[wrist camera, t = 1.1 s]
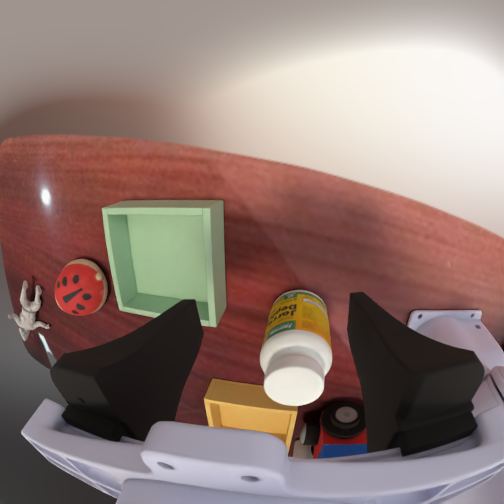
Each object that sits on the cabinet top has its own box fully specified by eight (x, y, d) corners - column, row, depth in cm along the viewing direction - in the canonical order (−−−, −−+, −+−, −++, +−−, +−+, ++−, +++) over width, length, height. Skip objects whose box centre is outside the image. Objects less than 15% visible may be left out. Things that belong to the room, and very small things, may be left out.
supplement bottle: (301, 344, 26) (295, 421, 18) (258, 315, 26) (236, 388, 17) (339, 310, 24) (351, 385, 16) (296, 276, 24) (289, 345, 15)
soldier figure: (58, 298, 33) (44, 355, 34) (57, 281, 36) (42, 336, 37) (13, 283, 27) (4, 345, 28) (16, 267, 31) (5, 326, 31)
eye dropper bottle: (289, 452, 34) (280, 517, 23) (296, 435, 32) (287, 508, 21) (317, 455, 34) (312, 519, 22) (327, 438, 32) (323, 510, 20)
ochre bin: (299, 388, 29) (297, 411, 25) (290, 433, 32) (288, 453, 29) (212, 377, 30) (203, 398, 27) (218, 424, 34) (212, 442, 31)
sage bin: (223, 200, 23) (210, 208, 20) (226, 307, 26) (216, 327, 23) (123, 200, 25) (101, 208, 21) (136, 294, 28) (119, 310, 25)
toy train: (306, 394, 29) (295, 510, 15) (451, 390, 26) (482, 480, 12) (296, 433, 32) (284, 527, 18) (425, 429, 29) (441, 509, 15)
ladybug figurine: (57, 277, 30) (39, 288, 27) (91, 242, 27) (70, 253, 24) (84, 318, 32) (68, 332, 28) (123, 292, 28) (105, 307, 25)
